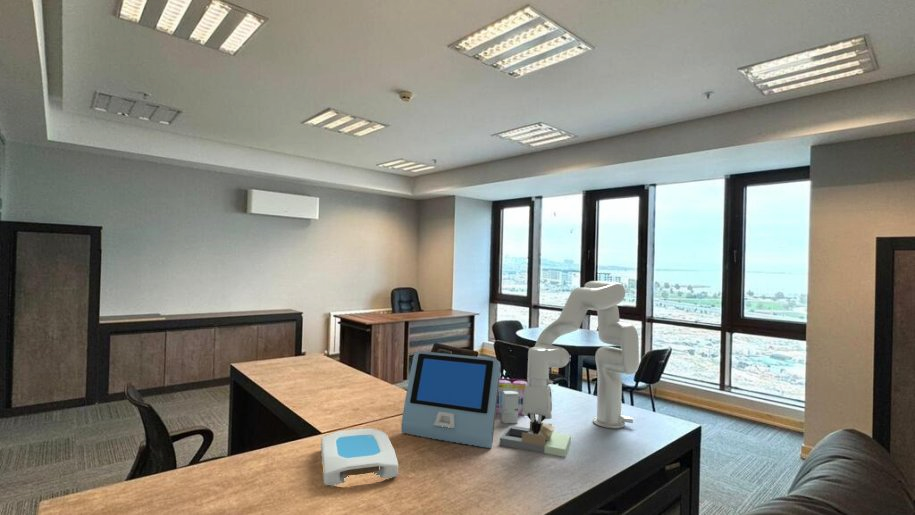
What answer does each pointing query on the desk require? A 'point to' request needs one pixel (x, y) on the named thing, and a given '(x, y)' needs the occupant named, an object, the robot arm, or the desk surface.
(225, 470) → the desk surface
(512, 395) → the skincare box
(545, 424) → the birch block
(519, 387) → the gum box
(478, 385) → the touchscreen device
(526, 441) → the board
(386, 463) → the white step stool
